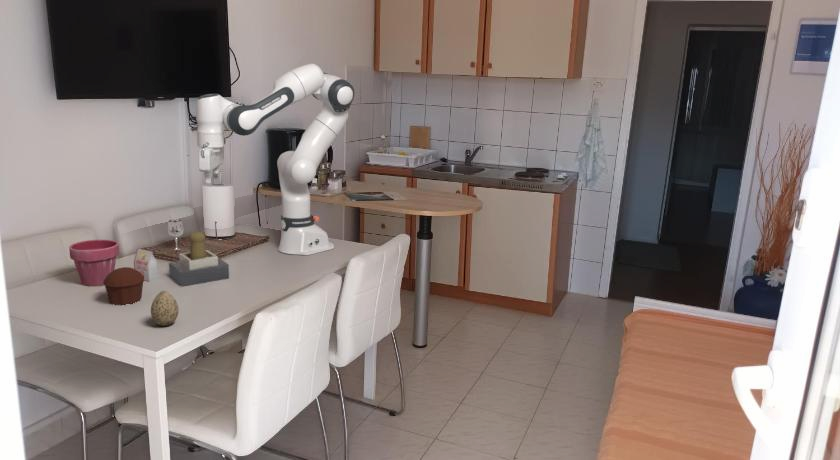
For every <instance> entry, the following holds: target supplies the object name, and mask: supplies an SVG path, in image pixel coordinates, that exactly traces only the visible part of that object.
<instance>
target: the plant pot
mask: <svg viewBox="0 0 840 460" xmlns="http://www.w3.org/2000/svg"><path fill="white" fill-rule="evenodd" d="M68 248H69V257H70V259H71V260H72V261H74V266H75V269H76V271H77V274H78V277H79V279H80V282H81V284H82V285H84V286H87V287H97V286H98V287H99V286H105V285H104V284H103V282H104V280H105V278H106V277H107V275H108V274H109V273H111V272H112V271H114V270H115V268H116V263H117V262H116V261H117V257H118V256H119V254H120V248H119V242H118V241H117V240H113V239H88V240H82V241H78V242H75V243H72V244H71V245H69V247H68Z"/></svg>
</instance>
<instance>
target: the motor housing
mask: <svg viewBox="0 0 840 460" xmlns="http://www.w3.org/2000/svg"><path fill="white" fill-rule="evenodd" d="M205 251H206V256H207V257H206V258H199V259H193V260H191V259H190V251H189V252H183V253H182V252H180V253H179V255H178V256H179V260H177V261H171V262H168V269H169V277H170V279H172V281H175V282H176V283H177V284H178V285H179V286H180V287H189V286H193V285H194V286H195V285H199V284H205V283H210V282H216V281H217V282H218V281H221V280H226V279H230V272H229V270H230V269H229V267H230V266H229V263H227V262H226V261H224V260H223V259H221V258H219V257H218V256H217V255H216V254H215V253H213V252H211V250H208V249H205Z"/></svg>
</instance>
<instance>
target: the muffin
mask: <svg viewBox="0 0 840 460" xmlns="http://www.w3.org/2000/svg"><path fill="white" fill-rule="evenodd" d="M144 282H145V281H144V276H143V275H142V274H141V273H140V272H139V271H137V270H135V269H134V267H129V266H127V267H126V266H125V267H118V268H116V269H114V271H112V272H111V273H109V274H108V275H107V277H106V278H105V280H104V282H103V284H104V285H103V286H104V287H105V291H106V294H107V297H108V301H109V304H112V305H113V304H114V305H113V306H122V305H124V306H127V305H126V304H130V305H134V304H136V303H139V302H141V299H142V295H143V286H144ZM138 301H139V302H138ZM135 302H136V303H135ZM133 303H134V304H133Z"/></svg>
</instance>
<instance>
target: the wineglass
mask: <svg viewBox="0 0 840 460" xmlns="http://www.w3.org/2000/svg"><path fill="white" fill-rule="evenodd" d="M184 231H185V229H184V224H183V220H181V219H179V218H178V219H170V220H168V222H167V233H168V235H169V236H170V237H174V241H175V248H174V250H180V249H181V248H178V240H179V239H178V237H179V238H180V236H182V235H183V234H184Z"/></svg>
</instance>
